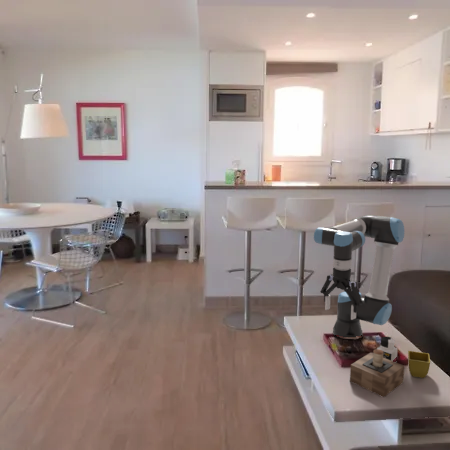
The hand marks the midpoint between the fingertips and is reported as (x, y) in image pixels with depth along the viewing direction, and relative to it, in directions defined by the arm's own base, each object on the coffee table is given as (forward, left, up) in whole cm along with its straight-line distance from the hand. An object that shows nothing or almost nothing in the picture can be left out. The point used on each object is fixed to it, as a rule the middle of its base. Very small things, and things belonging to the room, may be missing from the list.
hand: (340, 313), depth 200 cm
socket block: (-5, +17, -28) cm, 33 cm away
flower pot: (-24, +26, -28) cm, 45 cm away
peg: (-5, +17, -22) cm, 28 cm away
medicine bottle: (-24, +11, -28) cm, 38 cm away
